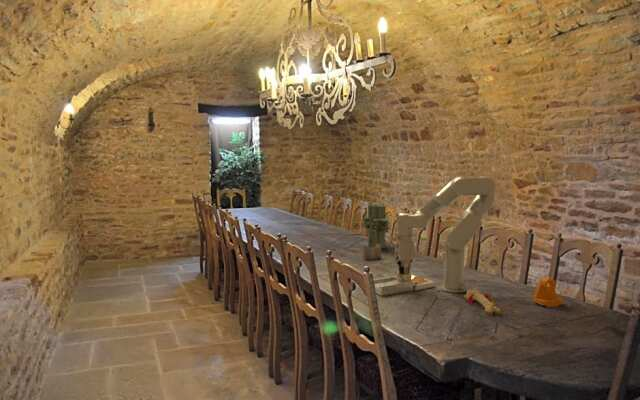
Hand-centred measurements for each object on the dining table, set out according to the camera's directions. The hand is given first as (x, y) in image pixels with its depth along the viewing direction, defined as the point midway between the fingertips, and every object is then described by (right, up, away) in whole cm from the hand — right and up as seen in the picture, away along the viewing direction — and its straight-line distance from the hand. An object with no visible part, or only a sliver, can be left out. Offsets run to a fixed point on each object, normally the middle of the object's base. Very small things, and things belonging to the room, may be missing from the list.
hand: (404, 272), depth 258 cm
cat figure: (+30, -11, -29) cm, 43 cm away
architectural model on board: (-10, -1, +64) cm, 65 cm away
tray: (+6, -7, +5) cm, 10 cm away
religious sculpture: (-3, +3, +100) cm, 100 cm away
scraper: (0, -4, +1) cm, 4 cm away
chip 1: (+4, -6, +3) cm, 8 cm away
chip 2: (+8, -3, +5) cm, 10 cm away
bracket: (+61, -11, -27) cm, 68 cm away
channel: (-8, -8, -4) cm, 12 cm away
